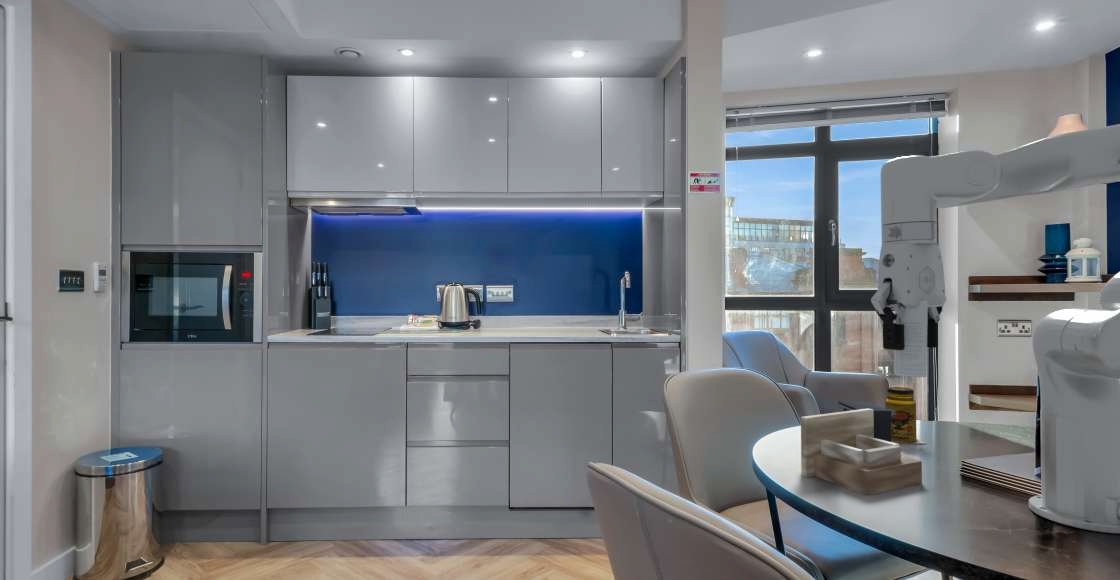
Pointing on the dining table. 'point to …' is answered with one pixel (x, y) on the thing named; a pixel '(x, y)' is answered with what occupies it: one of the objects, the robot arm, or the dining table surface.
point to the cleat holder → (854, 453)
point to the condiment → (902, 415)
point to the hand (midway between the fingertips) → (910, 347)
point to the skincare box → (913, 343)
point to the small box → (880, 417)
